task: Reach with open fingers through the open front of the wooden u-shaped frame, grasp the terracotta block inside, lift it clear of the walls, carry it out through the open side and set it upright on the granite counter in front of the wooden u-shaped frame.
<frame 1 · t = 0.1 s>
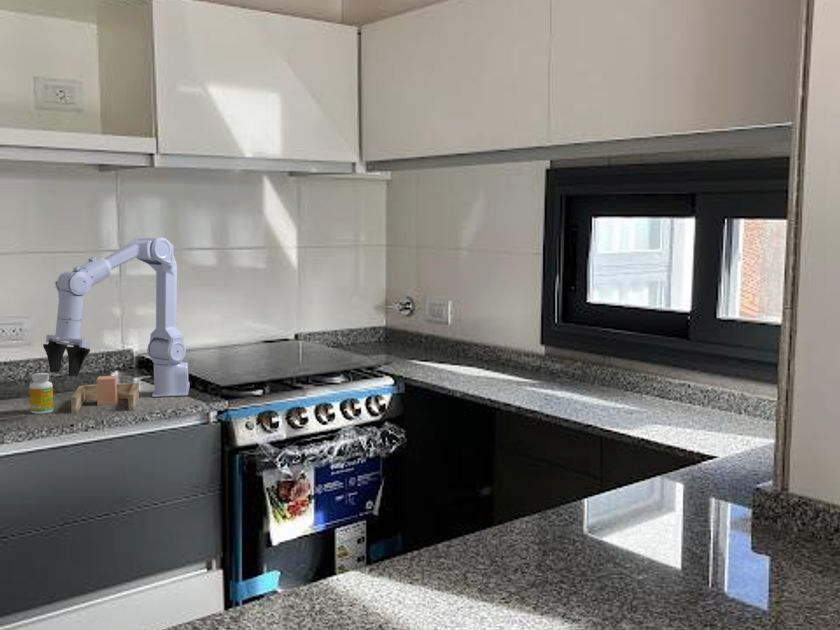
hand: (63, 374, 217), 10 cm above the counter, tool pointing down, fingers open, 7 cm apart
wooden u-shaped frame: (106, 404, 230), on the counter
supplement bottle: (42, 412, 222), on the counter
block: (107, 403, 232), resting in wooden u-shaped frame
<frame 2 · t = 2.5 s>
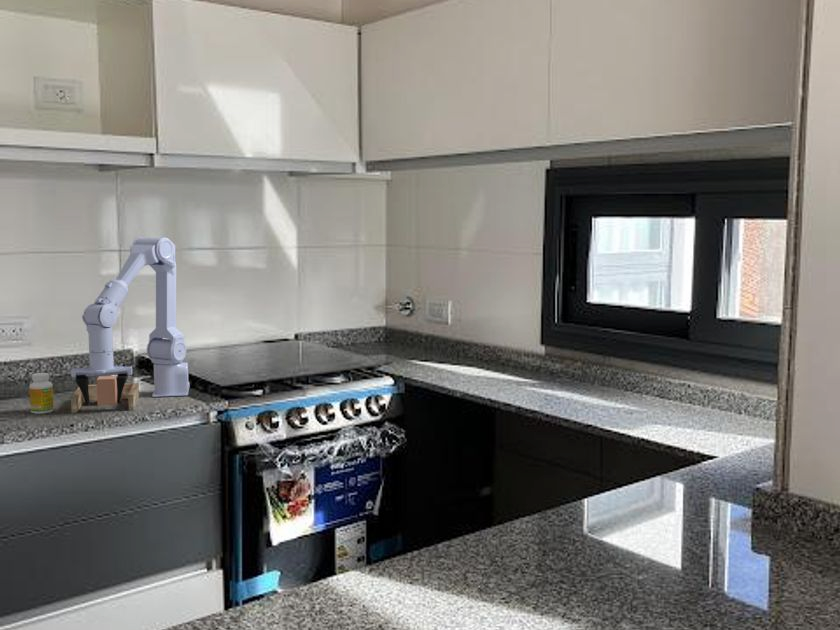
hand: (103, 403, 223), 2 cm above the counter, tool pointing down, fingers open, 7 cm apart
nothing on the counter moved.
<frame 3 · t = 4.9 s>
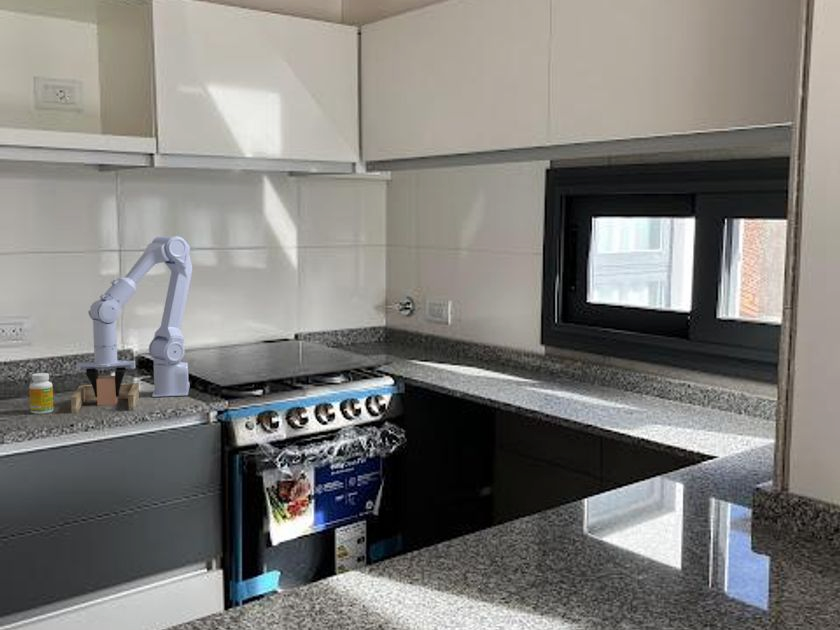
hand: (107, 396, 232), 2 cm above the counter, tool pointing down, fingers closed on block, 4 cm apart
block: (107, 403, 232), resting in wooden u-shaped frame, touching gripper
everything else where it was.
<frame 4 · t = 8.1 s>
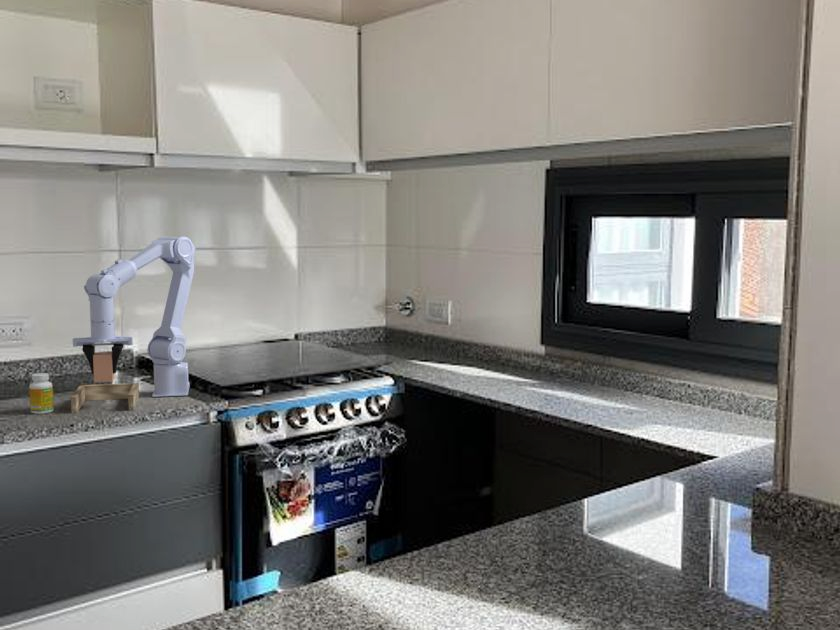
hand: (104, 373, 227), 9 cm above the counter, tool pointing down, fingers closed on block, 4 cm apart
block: (104, 380, 227), point 7 cm above the counter, touching gripper
everything else where it was.
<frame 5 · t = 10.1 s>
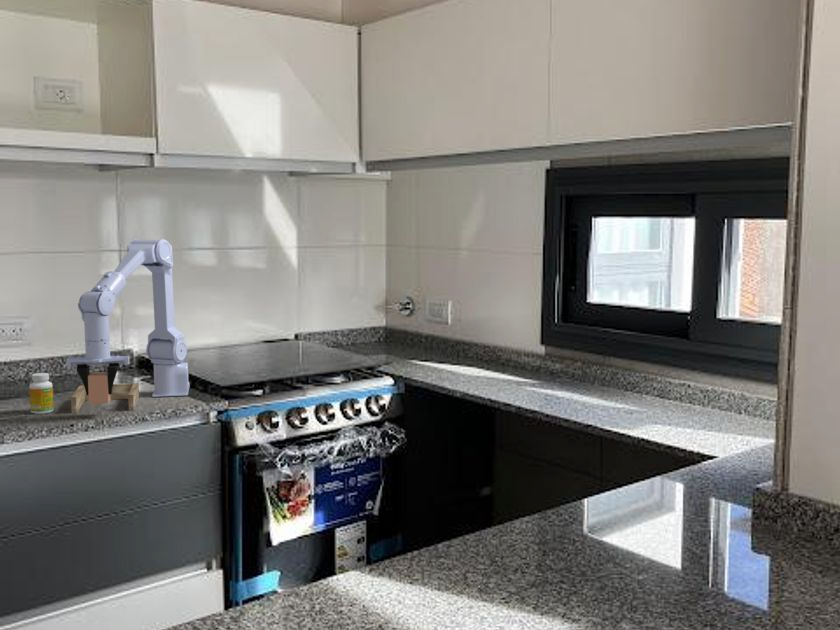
hand: (99, 394, 217), 6 cm above the counter, tool pointing down, fingers closed on block, 4 cm apart
block: (99, 401, 217), point 4 cm above the counter, touching gripper
everything else where it was.
when the fingers open (3 cm above the counter, at t = 11.5 s): block drops 2 cm, on the counter.
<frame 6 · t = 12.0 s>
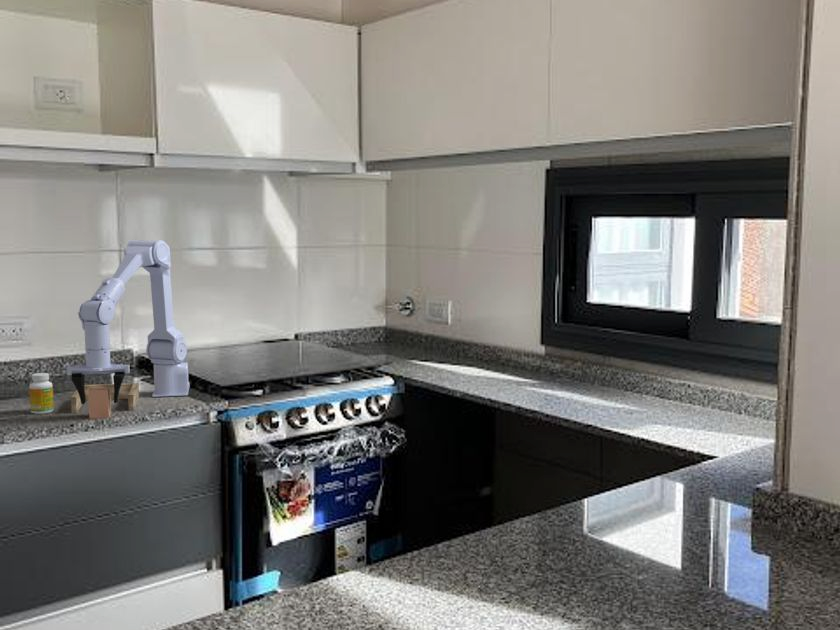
hand: (99, 402, 217), 3 cm above the counter, tool pointing down, fingers open, 7 cm apart
block: (100, 416, 217), on the counter
everything else where it was.
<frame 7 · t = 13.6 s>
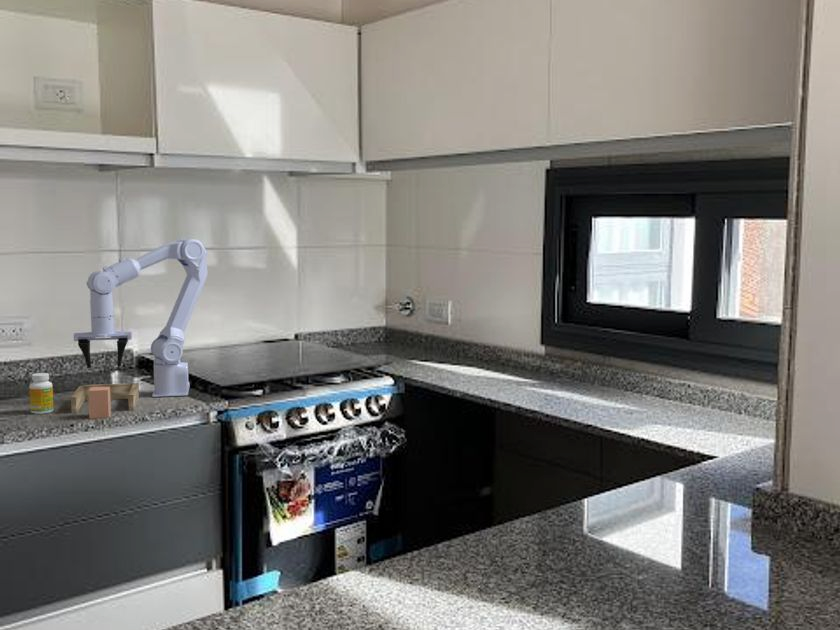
hand: (104, 366, 233), 9 cm above the counter, tool pointing down, fingers open, 7 cm apart
nothing on the counter moved.
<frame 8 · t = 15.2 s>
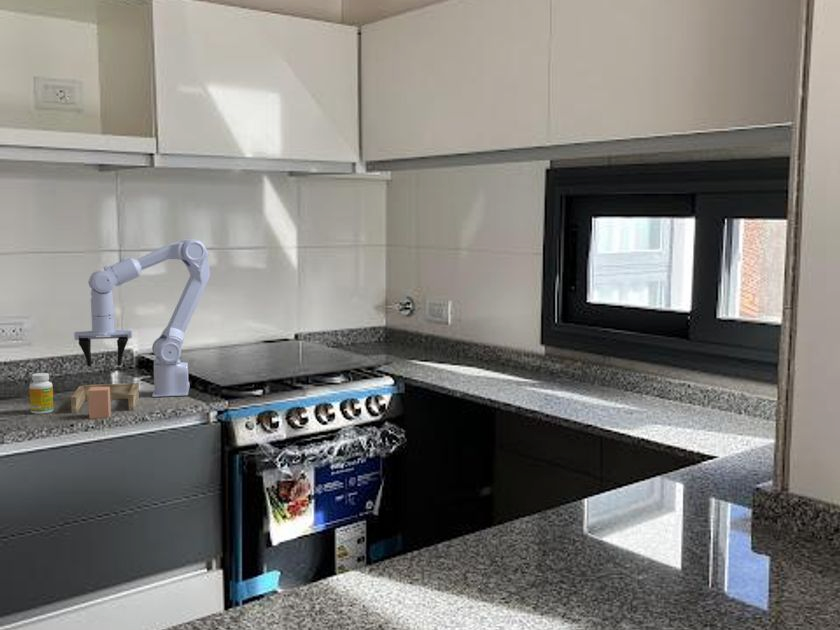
hand: (104, 365, 235), 9 cm above the counter, tool pointing down, fingers open, 7 cm apart
nothing on the counter moved.
at the end: block inside the target area (1.4 cm from its centre), on the counter; block tilted 0°; the gripper is holding nothing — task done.
